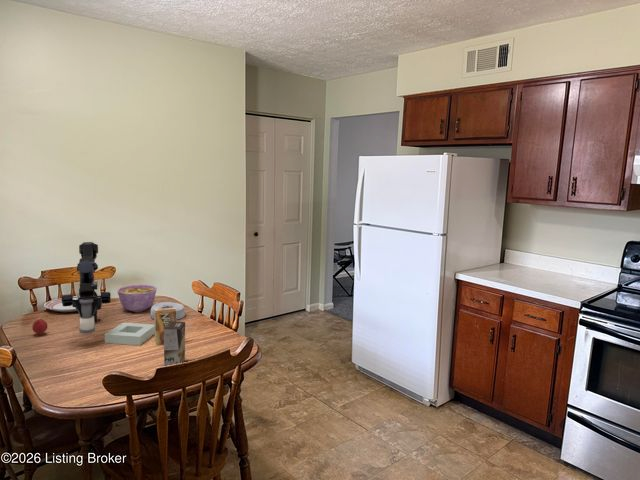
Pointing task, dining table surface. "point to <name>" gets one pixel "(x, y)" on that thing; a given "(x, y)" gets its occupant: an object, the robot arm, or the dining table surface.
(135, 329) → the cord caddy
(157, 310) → the candy box
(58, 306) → the dinner plate
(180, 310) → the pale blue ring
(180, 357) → the coffee box
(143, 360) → the dining table surface
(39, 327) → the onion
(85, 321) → the pepper grinder
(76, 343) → the dining table surface
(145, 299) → the bowl of food
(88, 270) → the robot arm
